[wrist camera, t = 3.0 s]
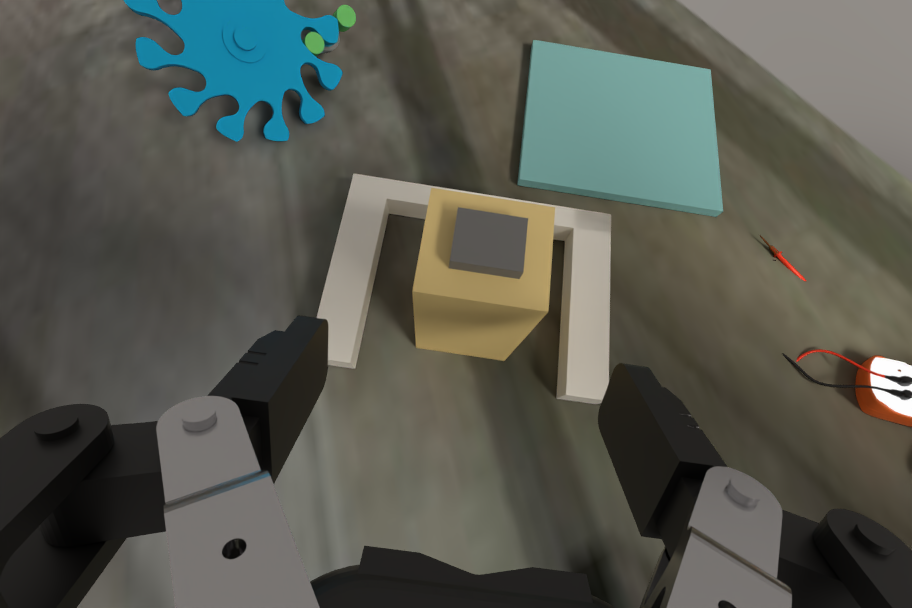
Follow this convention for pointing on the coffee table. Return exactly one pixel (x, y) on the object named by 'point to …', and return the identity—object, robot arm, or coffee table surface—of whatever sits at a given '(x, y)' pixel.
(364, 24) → the coffee table surface
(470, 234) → the plug block
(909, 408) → the multimeter
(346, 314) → the white u-shaped bracket
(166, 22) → the blue germ toy
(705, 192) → the mat
